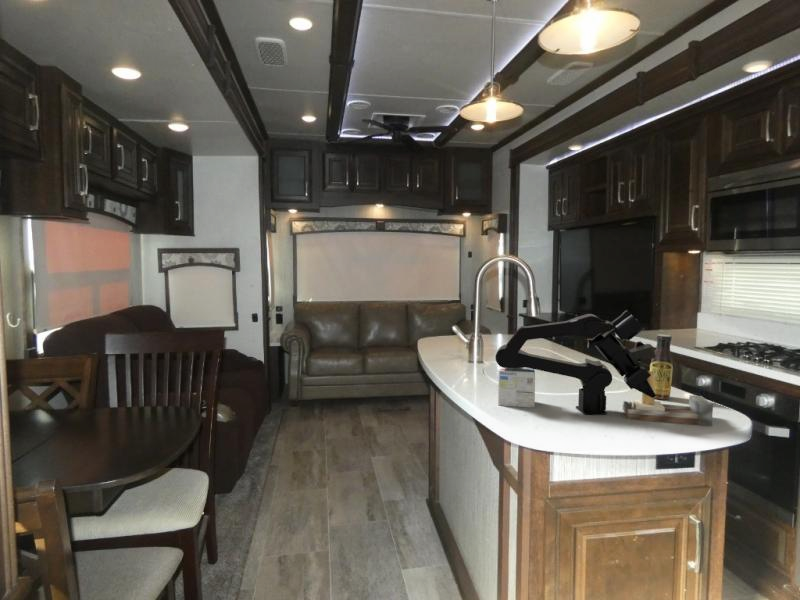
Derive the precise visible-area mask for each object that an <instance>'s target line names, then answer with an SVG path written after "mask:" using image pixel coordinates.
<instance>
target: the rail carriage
mask: <svg viewBox="0 0 800 600" xmlns="http://www.w3.org/2000/svg"><path fill="white" fill-rule="evenodd" d="M647 371H648V372H649V373H650V374H651V376H650V377H649V378H647V381H648V383H649V384H650V386H651V388H652V390H653V391H654V393H655V375H656V373H655V372H652V371H650V370H647ZM641 393H642V392H641ZM641 396H642V397H641V399H631V402H632V407H633V408H634V409H636V410H649V411H662V412H665V407H664V406H663V405H662V404H663V403H662V402H661V401H659V400H658V401H657V400H655V398H652V397H650V396H648V395H646V394H644V393H642V395H641Z"/></svg>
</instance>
